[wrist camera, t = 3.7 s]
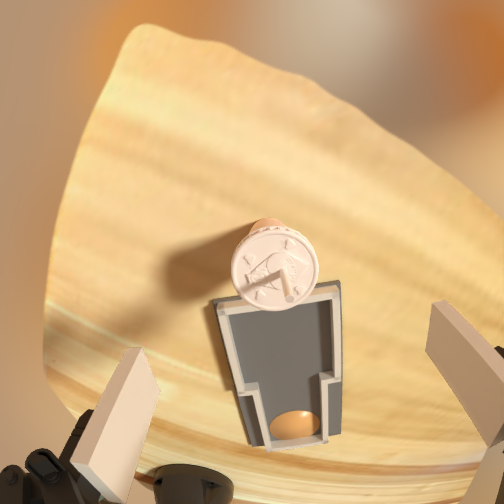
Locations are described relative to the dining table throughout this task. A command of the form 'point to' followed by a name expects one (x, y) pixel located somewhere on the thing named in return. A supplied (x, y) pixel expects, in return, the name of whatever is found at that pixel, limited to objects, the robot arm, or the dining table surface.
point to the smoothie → (274, 266)
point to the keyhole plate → (286, 367)
